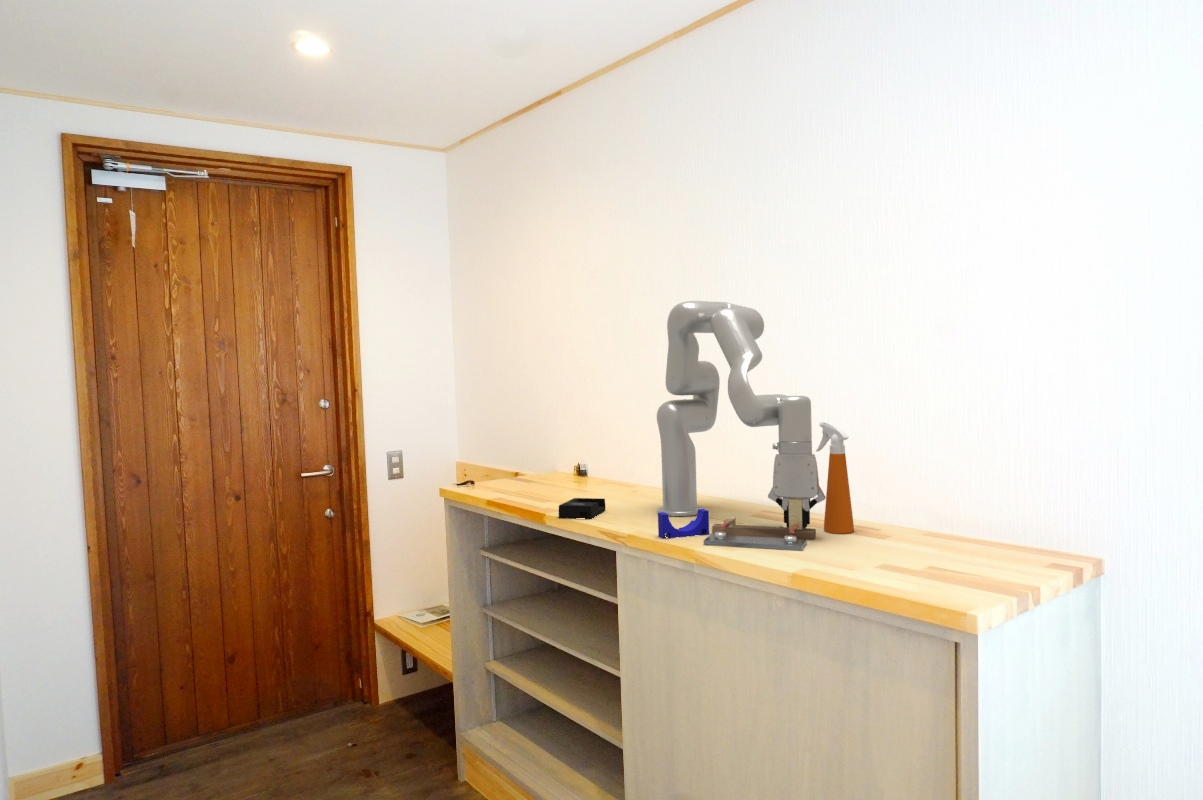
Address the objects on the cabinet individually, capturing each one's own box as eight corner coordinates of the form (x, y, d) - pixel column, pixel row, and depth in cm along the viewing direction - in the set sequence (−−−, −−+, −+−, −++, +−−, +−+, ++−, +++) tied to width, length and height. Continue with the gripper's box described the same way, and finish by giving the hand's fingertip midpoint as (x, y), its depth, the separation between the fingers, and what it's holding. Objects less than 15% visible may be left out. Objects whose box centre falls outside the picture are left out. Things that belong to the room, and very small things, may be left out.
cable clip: (701, 531, 194) (700, 507, 194) (709, 535, 190) (708, 510, 189) (656, 536, 190) (655, 511, 190) (663, 539, 186) (662, 514, 186)
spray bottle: (829, 524, 197) (827, 420, 196) (860, 531, 187) (858, 422, 186) (807, 527, 194) (805, 421, 193) (837, 535, 184) (835, 424, 183)
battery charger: (591, 520, 213) (590, 506, 213) (558, 519, 216) (558, 505, 216) (605, 512, 225) (605, 498, 225) (574, 511, 228) (574, 497, 228)
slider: (791, 525, 186) (791, 496, 185) (804, 526, 184) (804, 497, 184) (785, 534, 177) (784, 503, 177) (798, 534, 176) (797, 503, 175)
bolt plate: (711, 538, 185) (711, 529, 185) (806, 543, 177) (806, 534, 176) (703, 544, 179) (703, 535, 179) (801, 550, 170) (801, 540, 170)
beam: (716, 531, 193) (715, 516, 193) (815, 536, 183) (815, 521, 183) (705, 539, 184) (705, 524, 184) (810, 545, 175) (809, 529, 175)
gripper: (757, 449, 182) (758, 528, 183) (829, 450, 176) (831, 531, 176) (763, 446, 189) (765, 522, 190) (833, 447, 183) (835, 525, 183)
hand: (796, 526), depth 183 cm, fingers closed on slider, 3 cm apart
